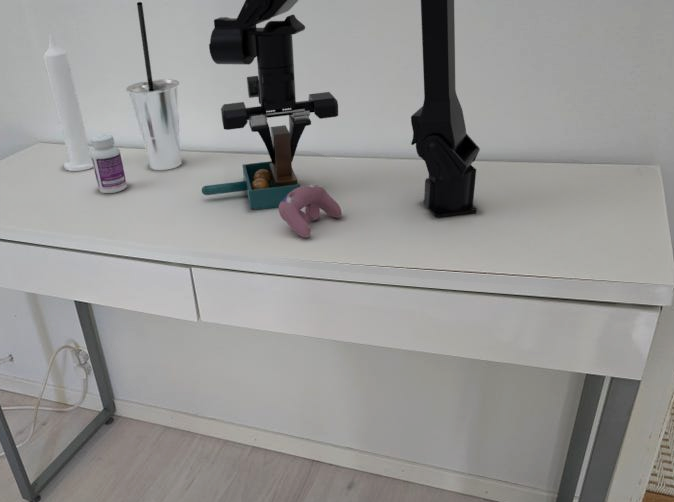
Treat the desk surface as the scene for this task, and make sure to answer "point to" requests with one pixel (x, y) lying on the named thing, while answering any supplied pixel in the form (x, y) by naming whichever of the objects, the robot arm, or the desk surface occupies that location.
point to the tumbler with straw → (157, 113)
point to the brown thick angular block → (282, 158)
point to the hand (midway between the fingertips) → (282, 162)
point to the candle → (67, 108)
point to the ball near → (259, 184)
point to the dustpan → (256, 197)
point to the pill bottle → (107, 164)
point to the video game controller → (307, 207)
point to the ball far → (263, 175)
